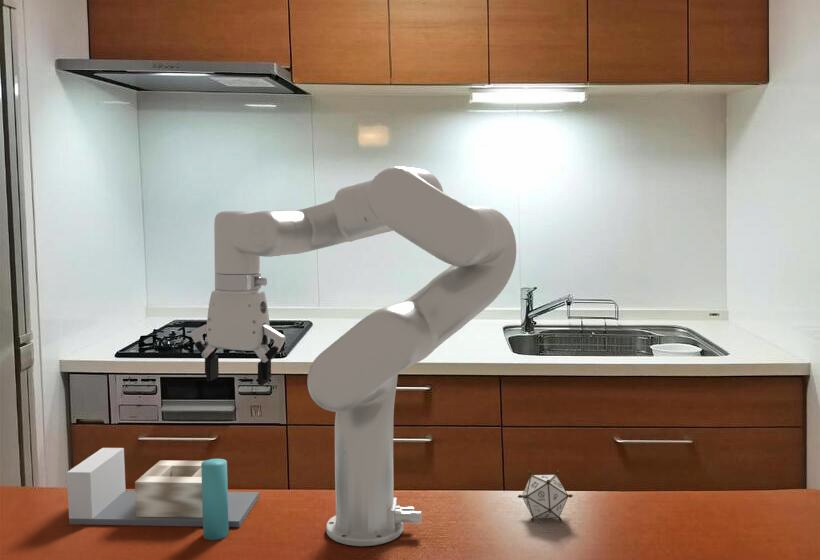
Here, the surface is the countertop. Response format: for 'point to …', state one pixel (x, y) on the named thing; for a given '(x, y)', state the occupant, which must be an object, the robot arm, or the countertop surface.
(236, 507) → the track
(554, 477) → the game die
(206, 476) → the dowel
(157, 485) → the block
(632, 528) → the countertop surface
